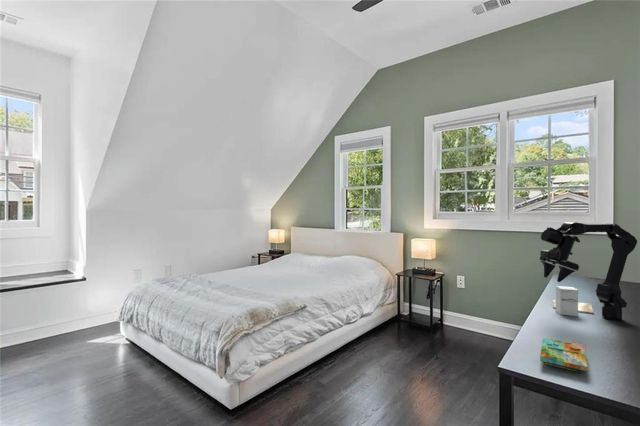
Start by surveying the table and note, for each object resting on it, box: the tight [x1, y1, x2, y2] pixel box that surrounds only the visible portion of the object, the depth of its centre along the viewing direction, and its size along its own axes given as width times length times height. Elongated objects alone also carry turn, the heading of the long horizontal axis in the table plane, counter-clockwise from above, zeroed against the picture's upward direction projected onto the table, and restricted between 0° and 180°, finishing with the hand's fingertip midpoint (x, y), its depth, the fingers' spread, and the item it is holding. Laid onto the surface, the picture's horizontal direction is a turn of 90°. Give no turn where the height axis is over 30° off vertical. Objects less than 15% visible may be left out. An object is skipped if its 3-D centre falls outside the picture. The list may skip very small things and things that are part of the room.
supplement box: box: [555, 285, 579, 317], centre depth 160 cm, size 7×7×13 cm
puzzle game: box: [539, 337, 589, 374], centre depth 109 cm, size 12×5×20 cm
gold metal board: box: [552, 298, 595, 315], centre depth 170 cm, size 16×18×1 cm
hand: (551, 279), depth 153 cm, fingers open, 9 cm apart
